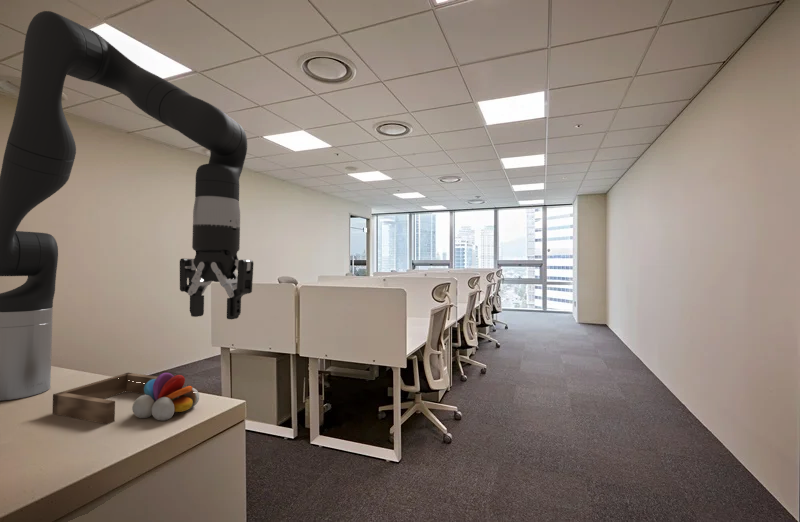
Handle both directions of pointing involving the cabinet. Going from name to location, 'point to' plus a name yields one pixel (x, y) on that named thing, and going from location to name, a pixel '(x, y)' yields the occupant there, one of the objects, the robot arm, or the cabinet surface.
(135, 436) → the cabinet surface
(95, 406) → the bay
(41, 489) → the cabinet surface
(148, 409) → the rainbow disc stack
